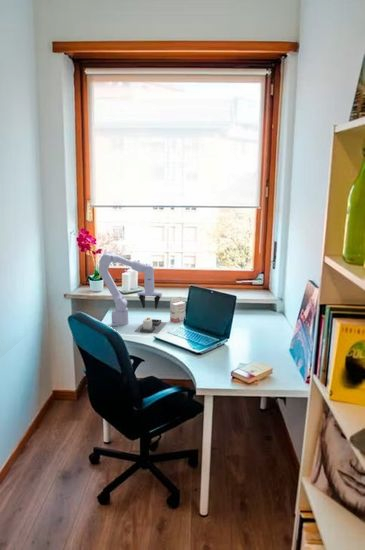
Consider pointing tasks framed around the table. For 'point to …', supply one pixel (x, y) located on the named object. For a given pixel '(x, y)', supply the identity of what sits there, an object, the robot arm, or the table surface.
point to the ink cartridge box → (177, 309)
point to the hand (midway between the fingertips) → (150, 307)
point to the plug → (147, 324)
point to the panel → (156, 327)
